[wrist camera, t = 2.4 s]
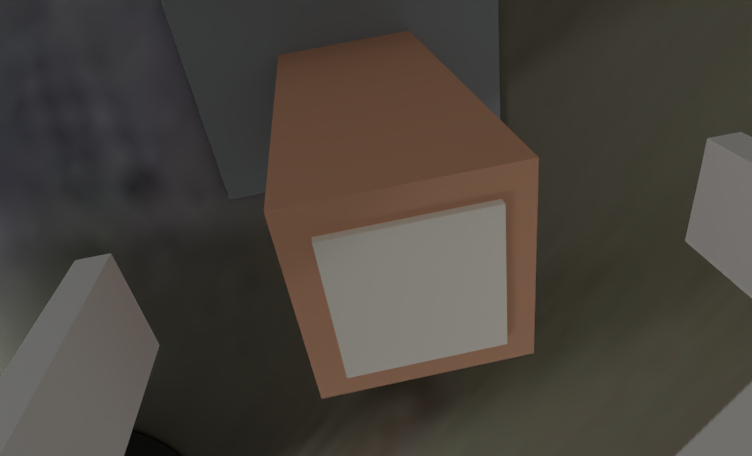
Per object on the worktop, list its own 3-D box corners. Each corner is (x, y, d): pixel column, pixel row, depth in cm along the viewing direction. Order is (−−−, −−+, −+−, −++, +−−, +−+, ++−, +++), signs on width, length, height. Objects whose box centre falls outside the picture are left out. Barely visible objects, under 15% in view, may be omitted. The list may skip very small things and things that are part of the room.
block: (307, 174, 22) (322, 405, 11) (278, 54, 19) (263, 218, 9) (421, 151, 22) (537, 359, 12) (408, 30, 19) (543, 162, 9)
